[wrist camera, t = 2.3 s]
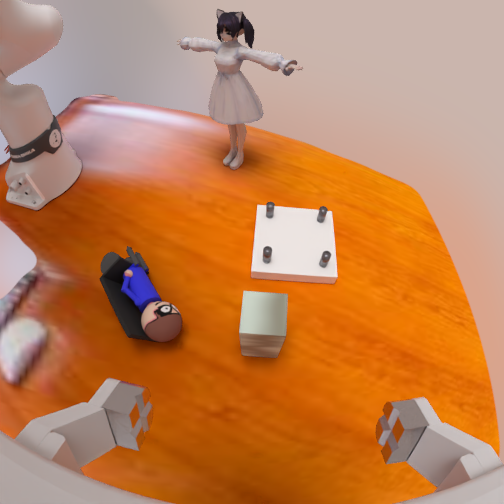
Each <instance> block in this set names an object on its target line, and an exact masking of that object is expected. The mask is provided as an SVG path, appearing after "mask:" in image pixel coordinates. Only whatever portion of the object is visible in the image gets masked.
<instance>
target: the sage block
mask: <svg viewBox="0 0 504 504" xmlns="http://www.w3.org/2000/svg"><path fill="white" fill-rule="evenodd" d="M287 298H288V294H279V293H265V292H252V291H244V293H243V302H242V311H241V321H240V330H239V335H240V345H241V354H242V355H243V356H255V357H268V358H277V357H278V354H279V352H280V350H281V347H282V345H283V342H284V340H285V337H286V324H287Z"/></svg>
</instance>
